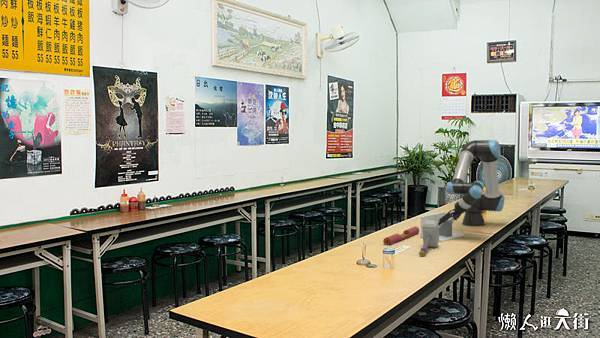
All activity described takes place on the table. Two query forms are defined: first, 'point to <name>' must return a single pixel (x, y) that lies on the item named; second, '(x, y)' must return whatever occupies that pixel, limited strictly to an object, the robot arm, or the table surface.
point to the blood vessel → (401, 236)
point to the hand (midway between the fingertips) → (441, 226)
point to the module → (446, 229)
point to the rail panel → (436, 218)
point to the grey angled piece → (429, 235)
